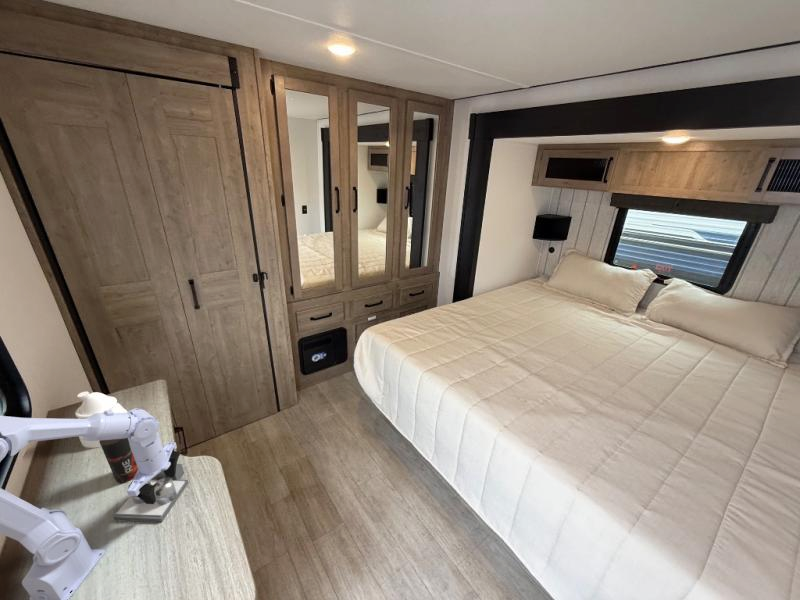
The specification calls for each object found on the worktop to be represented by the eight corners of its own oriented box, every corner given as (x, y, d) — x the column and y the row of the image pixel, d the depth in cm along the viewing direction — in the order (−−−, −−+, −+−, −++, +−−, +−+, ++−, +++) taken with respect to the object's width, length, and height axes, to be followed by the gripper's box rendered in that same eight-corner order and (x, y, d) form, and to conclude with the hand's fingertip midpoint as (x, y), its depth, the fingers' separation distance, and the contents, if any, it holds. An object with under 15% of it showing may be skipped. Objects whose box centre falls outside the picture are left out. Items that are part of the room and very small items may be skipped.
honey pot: (98, 452, 98) (79, 408, 91) (71, 441, 102) (51, 397, 95) (141, 424, 110) (126, 383, 103) (115, 414, 113) (100, 374, 106)
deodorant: (126, 485, 89) (110, 447, 83) (110, 480, 90) (93, 442, 84) (146, 468, 94) (132, 431, 88) (131, 463, 95) (117, 426, 90)
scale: (162, 521, 81) (158, 511, 79) (114, 520, 80) (109, 509, 79) (195, 473, 94) (192, 463, 92) (153, 472, 93) (150, 461, 92)
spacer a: (142, 505, 83) (137, 493, 81) (129, 501, 83) (123, 488, 81) (157, 490, 86) (153, 478, 85) (144, 486, 87) (140, 474, 85)
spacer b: (169, 505, 83) (165, 492, 81) (152, 504, 83) (148, 492, 81) (180, 489, 87) (176, 477, 85) (164, 489, 87) (159, 476, 85)
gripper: (142, 478, 72) (156, 516, 77) (183, 430, 85) (192, 466, 91) (112, 477, 72) (128, 515, 77) (157, 429, 85) (168, 464, 90)
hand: (161, 488), depth 84 cm, fingers open, 7 cm apart
